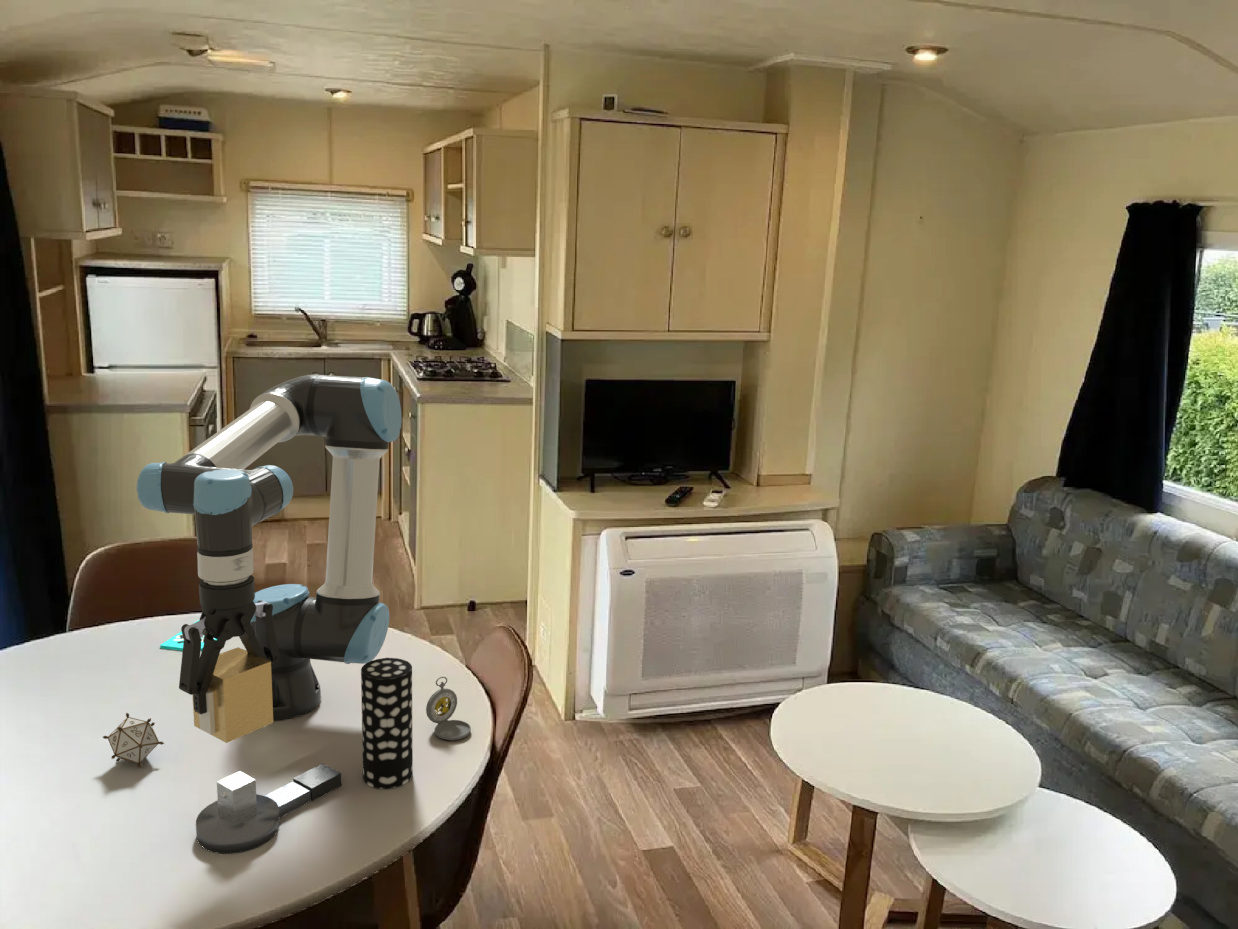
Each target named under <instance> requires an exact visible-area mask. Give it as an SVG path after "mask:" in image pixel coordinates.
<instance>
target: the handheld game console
mask: <svg viewBox="0 0 1238 929" xmlns="http://www.w3.org/2000/svg"><path fill="white" fill-rule="evenodd" d="M199 620H200V619H198V620H196V621H195V622H193V623H192V624H194V623H196V622H198V621H199ZM205 633H206V630H205V629H203V631H202V634H203V637H202V638H201V651H200V652H202V649H203V646H204V642H203V639H204V636H205ZM214 640H216V641H217V639H216V638H214ZM183 643H184V639H183V635H182V631H181V630H180V632H178V633H177V634H175V635H173V636H172V637H170V638H169V639H167V640H166V641H164V642H163V643H160V645H159V646H160V647H159V648H160V649H165V650H172V651H174V650H175V651H181V652H183Z"/></svg>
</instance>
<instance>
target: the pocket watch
mask: <svg viewBox="0 0 1238 929" xmlns="http://www.w3.org/2000/svg"><path fill="white" fill-rule="evenodd" d="M440 679H445V682H444V681H441V682H440V683H438V682H439V680H440ZM447 682H448V678H447V677H446V676H440V677H438V678H437V679H436V680H435V685H436V686H437V687H439V688H440V689H438V690H436V691H435V692H434V693H433V694H432V695H431V696H430V697H429V699H428V701H427V704H426V707H425V708H426V709H425V711H426V712H425V714H426V716H427V718H428V719H429V721H431V723H433V724H437V725H435V727H434V734H435V735H436V736H437V737H438V738H439V739H442V740H447V741H456V740H461V739H464V738H466V737H467V736H469V735H470V733H471V730H472V727H471V724H469V723H468V722H467V721H464V720H458V719H450V718H451V717H452V716H453V714H454V713H455V712H456V708H457V705H458V696H457V694H456V692H455V691H454V690H452V689H450V688H446V687H445V686H446V684H447ZM444 687H445V688H444ZM439 712H440V713H439ZM449 719H450V720H449Z"/></svg>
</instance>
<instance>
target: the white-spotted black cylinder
mask: <svg viewBox="0 0 1238 929" xmlns="http://www.w3.org/2000/svg"><path fill="white" fill-rule="evenodd" d="M360 680H361V681H360V684H361V685H360V687H361V691H360V692H361V733H362V734H361V742H362V743H361V745H362V750H361V751H362V780H363V782H364V784H366V785H367V786H369V787H371V788H374V789H378V790H380V789H381V790H388V789H394V788H398V787H402V786H403V785H406V784H407V783H409V781H410V780H412V778H413V774H414V773H413V771H414V770H413V767H414V766H413V761H414V760H413V759H414V758H413V665H412V664H411V662H409V661H407V660H405V659H402V658H397V657H383V658H377V659H373V660H372V661H370V662H368V663H365V664H363V665H362V666H361V668H360Z"/></svg>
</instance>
